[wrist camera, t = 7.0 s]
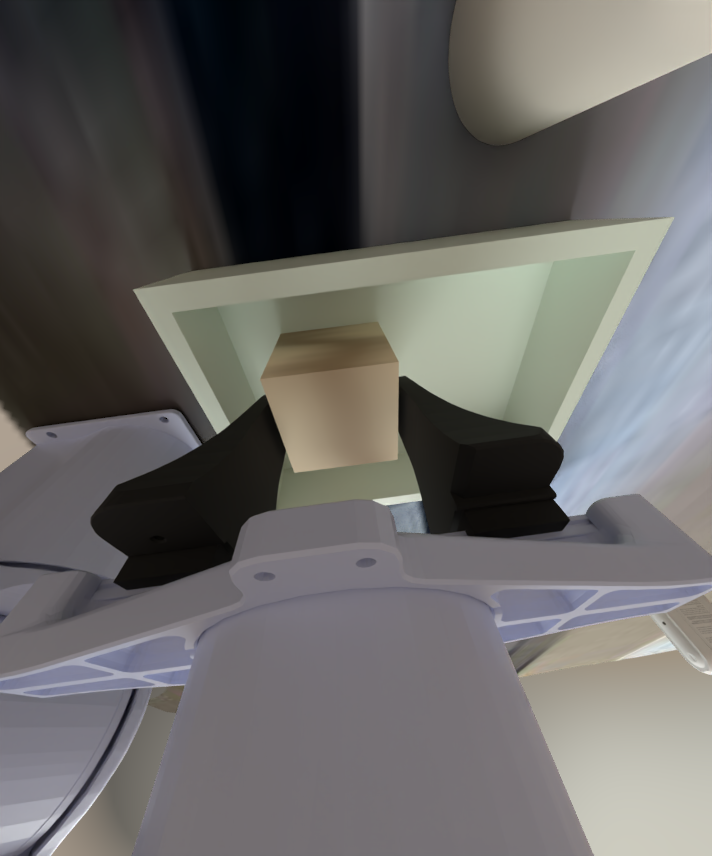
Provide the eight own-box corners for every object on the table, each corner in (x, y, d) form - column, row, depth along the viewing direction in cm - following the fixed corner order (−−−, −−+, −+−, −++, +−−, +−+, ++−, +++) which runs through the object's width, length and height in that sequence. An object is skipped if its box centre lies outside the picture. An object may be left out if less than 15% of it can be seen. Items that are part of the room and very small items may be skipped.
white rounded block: (627, 594, 50) (699, 683, 40) (641, 585, 47) (723, 678, 37) (676, 588, 50) (759, 675, 40) (693, 579, 47) (787, 670, 38)
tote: (278, 470, 20) (267, 521, 17) (191, 270, 12) (133, 289, 8) (498, 440, 20) (534, 485, 17) (570, 220, 12) (674, 216, 8)
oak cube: (302, 413, 16) (294, 472, 12) (280, 333, 13) (260, 379, 9) (381, 403, 16) (397, 459, 12) (377, 321, 13) (398, 361, 9)
